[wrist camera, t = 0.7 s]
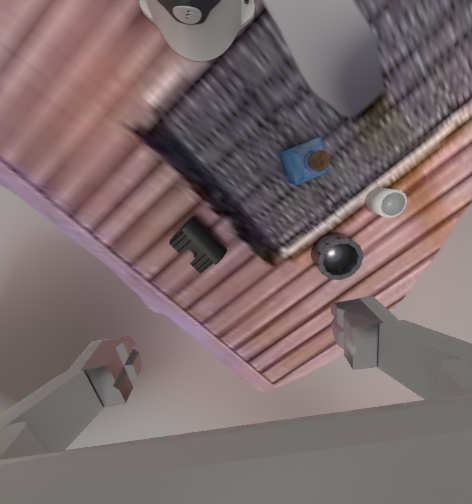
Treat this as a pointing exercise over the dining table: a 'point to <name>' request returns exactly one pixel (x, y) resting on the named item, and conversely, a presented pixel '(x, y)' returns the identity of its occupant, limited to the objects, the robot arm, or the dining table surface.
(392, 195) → the cap
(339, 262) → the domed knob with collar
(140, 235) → the dining table surface
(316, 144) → the perfume bottle
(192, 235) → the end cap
